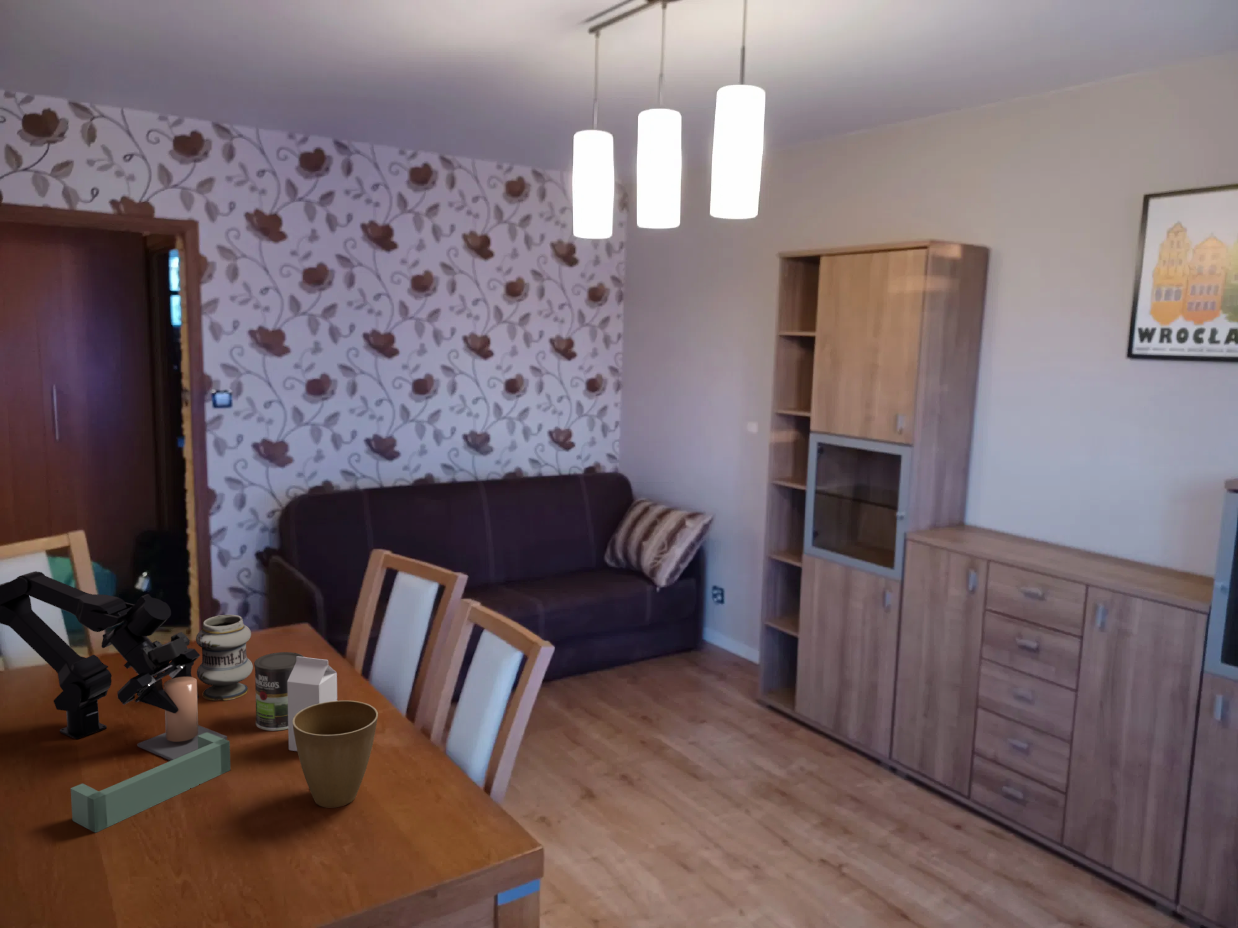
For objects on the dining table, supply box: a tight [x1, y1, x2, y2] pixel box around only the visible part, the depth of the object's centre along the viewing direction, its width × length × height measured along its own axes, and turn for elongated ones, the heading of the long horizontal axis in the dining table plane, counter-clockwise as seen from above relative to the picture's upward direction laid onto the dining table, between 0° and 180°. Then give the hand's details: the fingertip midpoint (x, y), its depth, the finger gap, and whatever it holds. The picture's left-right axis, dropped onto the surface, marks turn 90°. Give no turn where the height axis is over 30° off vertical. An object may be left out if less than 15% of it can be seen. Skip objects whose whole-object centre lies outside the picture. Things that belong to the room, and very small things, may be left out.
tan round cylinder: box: [163, 676, 199, 742], centre depth 179 cm, size 6×6×12 cm
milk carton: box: [287, 656, 338, 752], centre depth 179 cm, size 7×7×19 cm
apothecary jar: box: [195, 614, 254, 702], centre depth 204 cm, size 12×12×18 cm
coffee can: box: [253, 651, 305, 732], centre depth 190 cm, size 10×10×14 cm
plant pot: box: [292, 700, 379, 809], centre depth 159 cm, size 15×15×16 cm
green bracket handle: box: [70, 732, 231, 834], centre depth 159 cm, size 7×26×6 cm, turn 150°
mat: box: [136, 724, 228, 761], centre depth 180 cm, size 12×12×1 cm
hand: (187, 705), depth 178 cm, fingers closed on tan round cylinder, 6 cm apart
